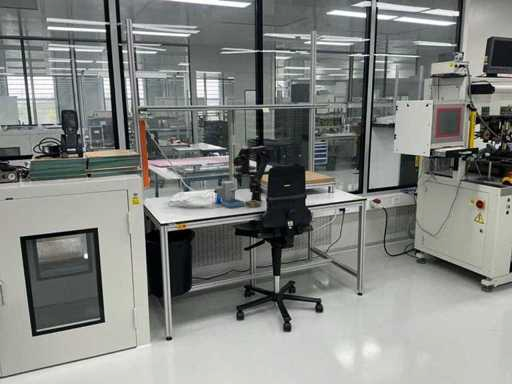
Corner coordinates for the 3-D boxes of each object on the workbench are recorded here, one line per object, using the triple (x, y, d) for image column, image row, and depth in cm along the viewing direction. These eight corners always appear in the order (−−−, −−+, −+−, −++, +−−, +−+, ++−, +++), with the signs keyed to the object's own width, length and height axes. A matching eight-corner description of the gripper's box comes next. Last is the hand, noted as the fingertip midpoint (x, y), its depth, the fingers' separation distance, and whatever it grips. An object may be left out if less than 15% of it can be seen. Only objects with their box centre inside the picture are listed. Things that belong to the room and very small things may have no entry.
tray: (236, 202, 310) (236, 198, 310) (244, 205, 302) (244, 201, 301) (221, 205, 303) (221, 201, 302) (229, 208, 294) (229, 204, 294)
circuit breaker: (213, 201, 315) (213, 181, 312) (232, 200, 319) (231, 180, 315) (214, 203, 308) (214, 183, 305) (234, 202, 311) (233, 182, 308)
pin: (233, 203, 305) (233, 188, 303) (236, 204, 302) (236, 189, 299) (229, 204, 302) (229, 189, 300) (232, 205, 299) (232, 190, 297)
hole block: (254, 204, 307) (254, 200, 307) (260, 206, 301) (260, 202, 300) (245, 205, 303) (245, 201, 302) (251, 207, 296) (251, 203, 296)
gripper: (249, 162, 315) (249, 182, 318) (228, 164, 304) (228, 185, 308) (258, 164, 306) (258, 185, 309) (237, 166, 296) (237, 188, 299)
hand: (245, 186), depth 307 cm, fingers open, 9 cm apart
